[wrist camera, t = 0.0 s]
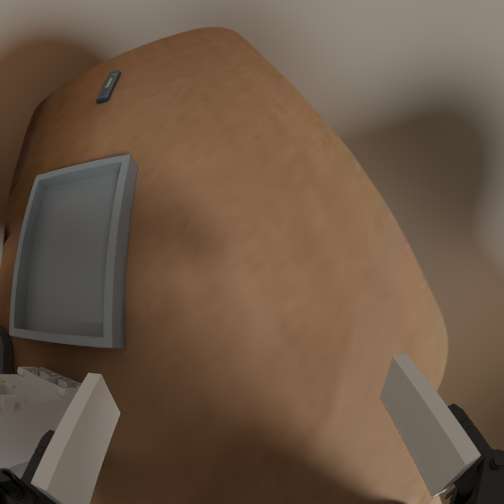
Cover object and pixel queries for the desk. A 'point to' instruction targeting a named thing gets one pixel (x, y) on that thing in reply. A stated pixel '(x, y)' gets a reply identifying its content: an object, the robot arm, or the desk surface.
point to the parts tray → (75, 255)
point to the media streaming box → (6, 353)
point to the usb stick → (108, 87)
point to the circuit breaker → (30, 412)
